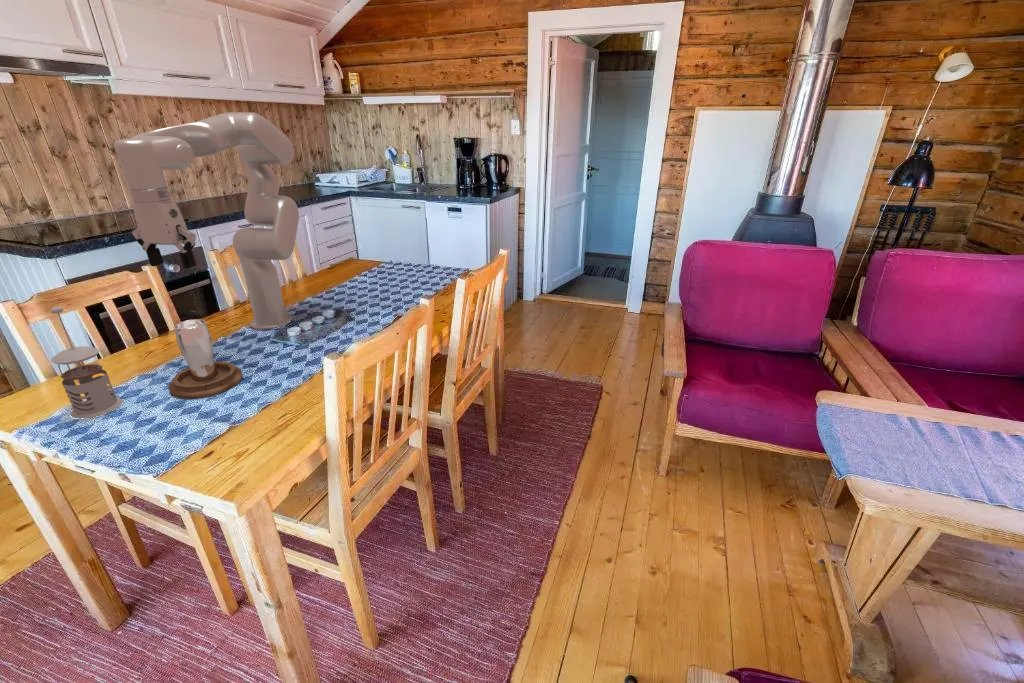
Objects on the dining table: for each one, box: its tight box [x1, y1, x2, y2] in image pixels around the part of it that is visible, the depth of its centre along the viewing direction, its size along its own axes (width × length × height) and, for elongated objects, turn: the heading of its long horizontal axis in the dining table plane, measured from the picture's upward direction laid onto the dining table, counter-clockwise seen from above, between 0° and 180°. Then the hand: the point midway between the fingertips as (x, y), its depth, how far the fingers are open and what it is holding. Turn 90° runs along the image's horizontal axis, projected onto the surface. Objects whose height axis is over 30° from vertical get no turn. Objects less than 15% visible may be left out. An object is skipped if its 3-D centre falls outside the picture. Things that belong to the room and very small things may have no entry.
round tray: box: [168, 361, 244, 400], centre depth 120 cm, size 16×16×3 cm
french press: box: [50, 306, 124, 419], centre depth 105 cm, size 10×12×25 cm
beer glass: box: [173, 318, 219, 384], centre depth 117 cm, size 7×7×15 cm
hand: (173, 266), depth 119 cm, fingers open, 9 cm apart
